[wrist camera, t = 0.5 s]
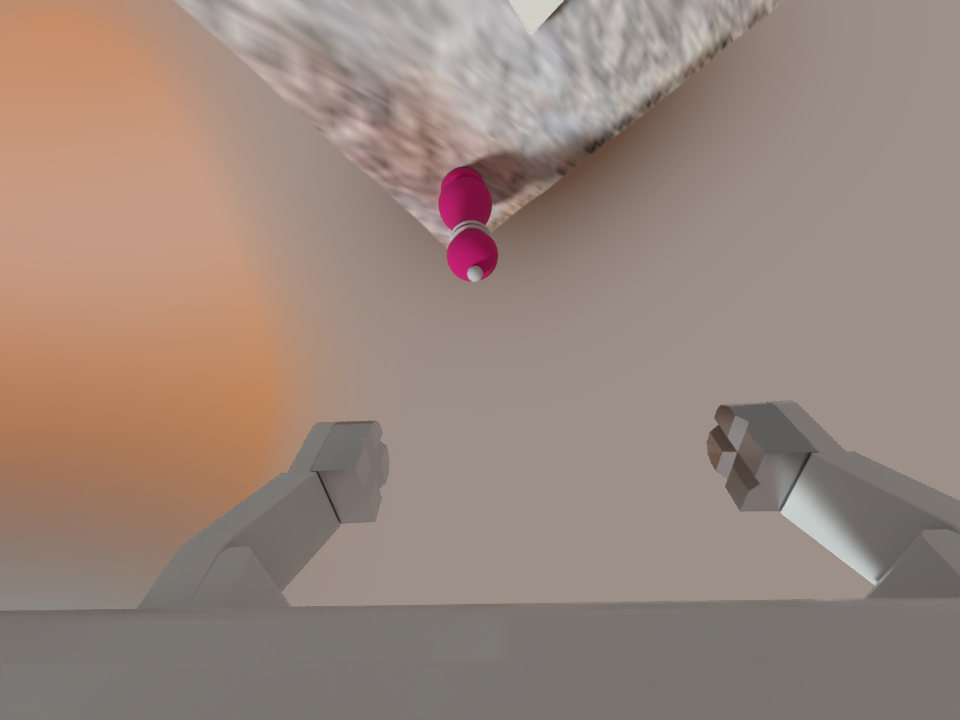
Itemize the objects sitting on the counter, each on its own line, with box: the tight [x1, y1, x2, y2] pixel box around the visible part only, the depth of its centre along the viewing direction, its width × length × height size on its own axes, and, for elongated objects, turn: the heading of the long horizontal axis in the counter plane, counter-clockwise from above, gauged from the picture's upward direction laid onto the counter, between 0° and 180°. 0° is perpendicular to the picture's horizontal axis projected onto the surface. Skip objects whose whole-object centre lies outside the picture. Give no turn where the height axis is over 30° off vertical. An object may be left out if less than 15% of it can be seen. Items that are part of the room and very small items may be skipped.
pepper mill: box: [438, 168, 498, 282], centre depth 51 cm, size 7×7×20 cm
